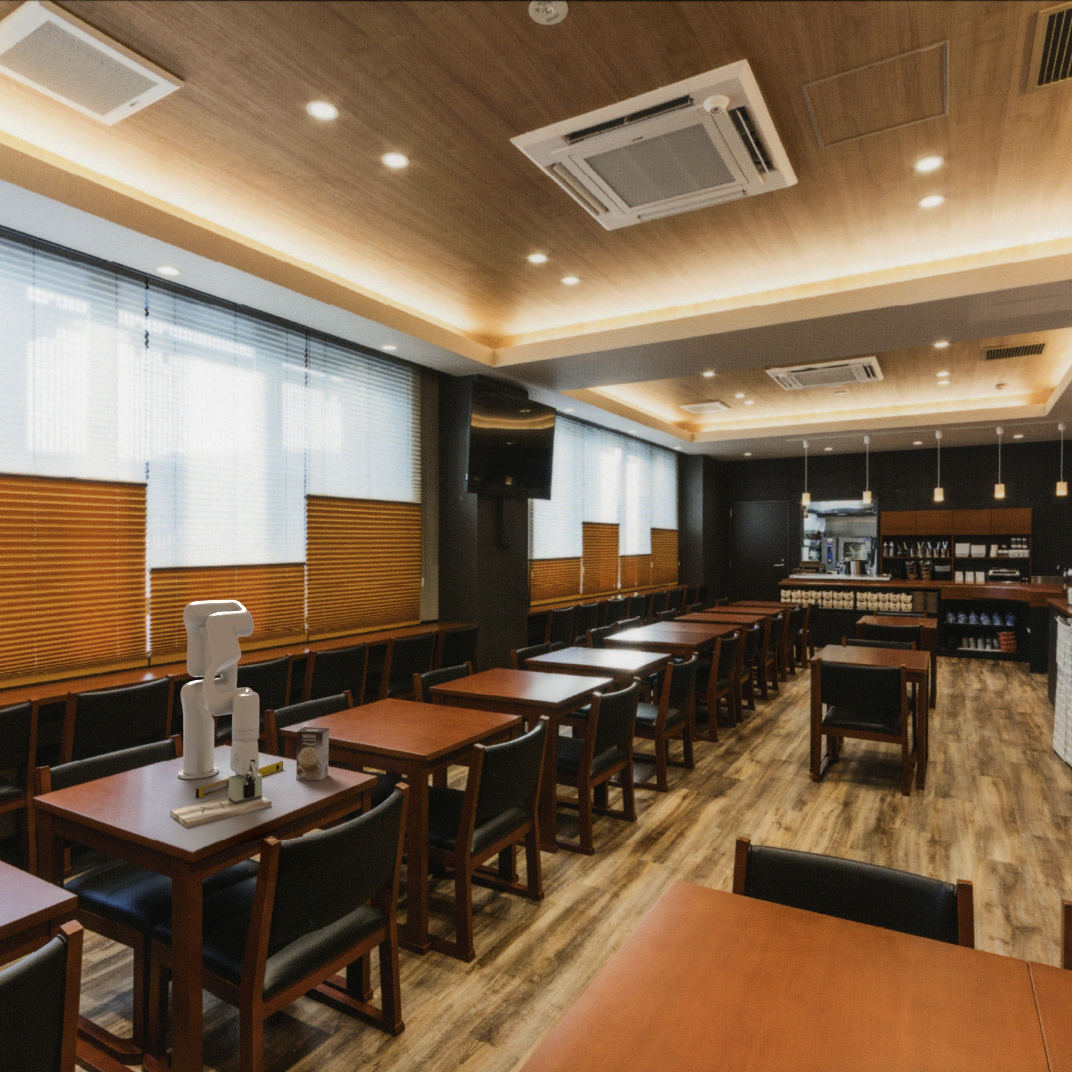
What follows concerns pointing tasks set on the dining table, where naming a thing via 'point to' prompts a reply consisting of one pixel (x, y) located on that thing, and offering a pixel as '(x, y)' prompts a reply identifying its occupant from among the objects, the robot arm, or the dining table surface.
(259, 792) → the sanding block
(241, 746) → the robot arm
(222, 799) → the board
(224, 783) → the spirit level
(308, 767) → the coffee box
